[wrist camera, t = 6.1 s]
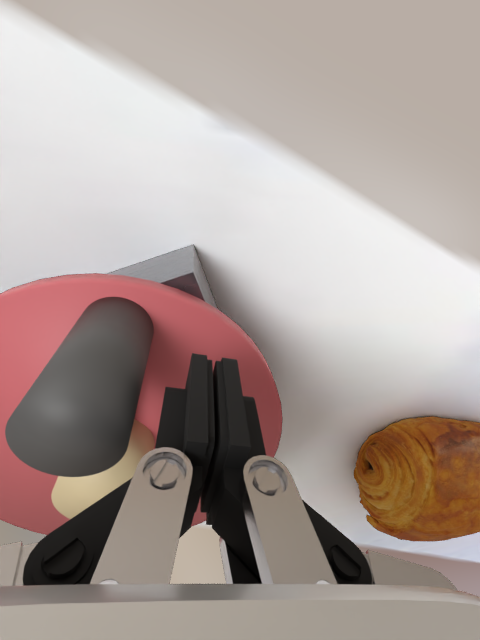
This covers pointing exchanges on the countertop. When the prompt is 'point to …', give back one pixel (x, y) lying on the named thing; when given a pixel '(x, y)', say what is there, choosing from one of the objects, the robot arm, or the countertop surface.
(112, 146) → the countertop surface
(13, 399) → the handwheel
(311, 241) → the countertop surface
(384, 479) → the croissant
